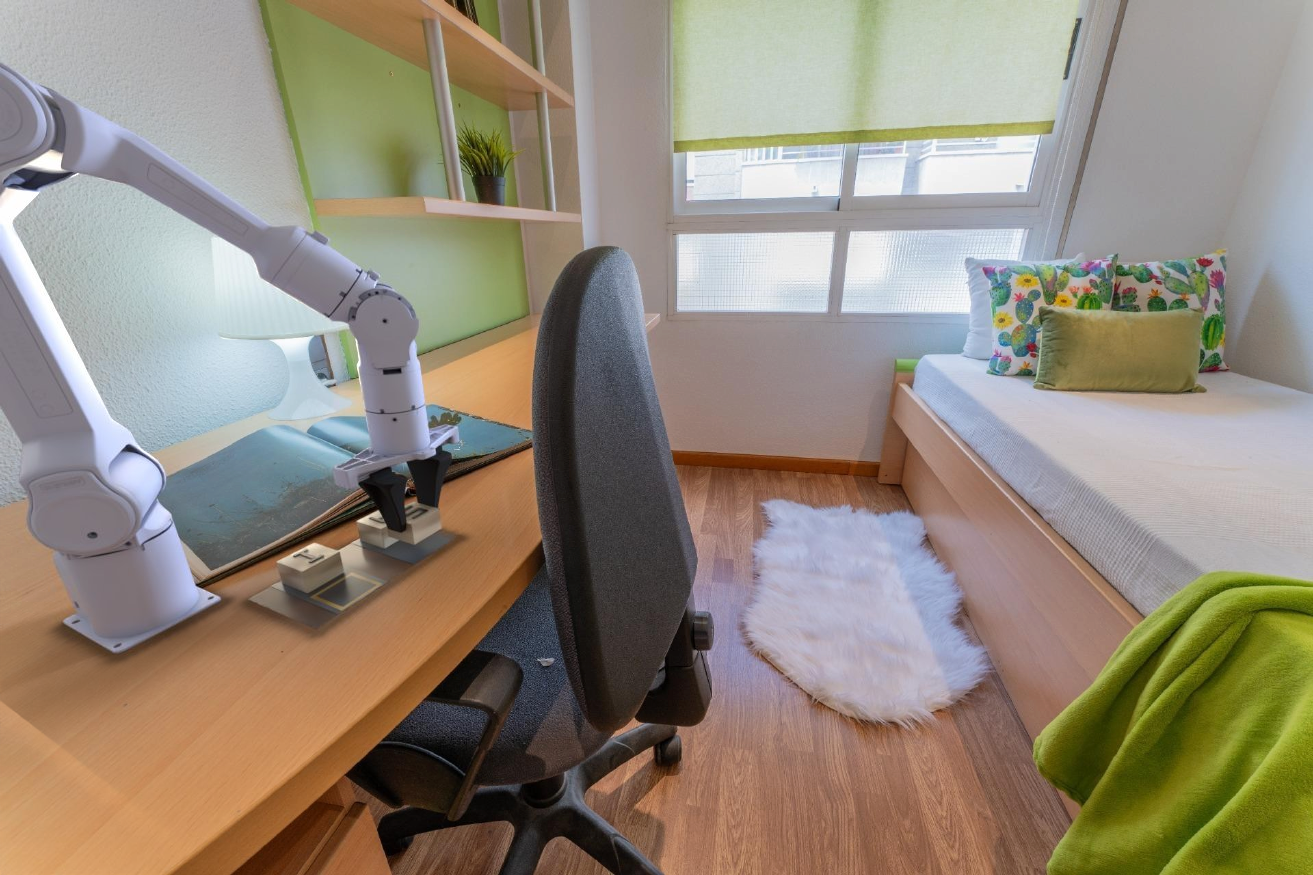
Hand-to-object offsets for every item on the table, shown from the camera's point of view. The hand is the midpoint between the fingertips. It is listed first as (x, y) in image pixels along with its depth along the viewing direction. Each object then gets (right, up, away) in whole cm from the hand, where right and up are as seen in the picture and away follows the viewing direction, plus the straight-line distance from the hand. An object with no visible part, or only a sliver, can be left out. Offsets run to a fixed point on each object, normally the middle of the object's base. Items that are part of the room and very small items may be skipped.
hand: (413, 520), depth 59 cm
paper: (-6, +3, +20) cm, 21 cm away
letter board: (-4, -5, -2) cm, 7 cm away
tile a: (-5, -2, +3) cm, 6 cm away
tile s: (0, -2, +1) cm, 2 cm away
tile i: (-8, -5, -5) cm, 11 cm away
